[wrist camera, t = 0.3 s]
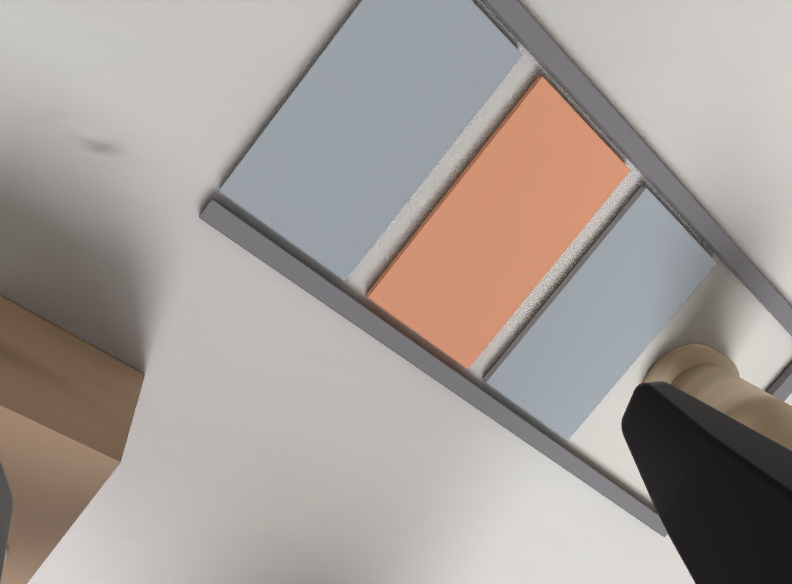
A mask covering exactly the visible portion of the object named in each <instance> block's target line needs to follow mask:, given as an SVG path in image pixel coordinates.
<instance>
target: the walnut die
mask: <svg viewBox="0 0 792 584" xmlns="http://www.w3.org/2000/svg"><path fill="white" fill-rule="evenodd" d="M144 376H145V374H143V373H141V372H139V371H138V370H136V369H134V368H132V367H130V366H128V365H127V364H125V363H123V362H121V361H119V360H118V359H116V358H114V357H112V356H110V355H108V354H107V353H105V352H103V351H101V350H99V349H97V348H96V347H94V346H92V345H90V344H88V343H86V342H85V341H83V340H81V339H79V338H77V337H75V336H74V335H72V334H70V333H68V332H66V331H64V330H63V329H61V328H59V327H57V326H55V325H53V324H52V323H50V322H48V321H46V320H44V319H42V318H41V317H39V316H37V315H35V314H33V313H31V312H30V311H28V310H26V309H24V308H22V307H20V306H19V305H17V304H15V303H13V302H11V301H10V300H8V299H6V298H4V297H2V296H0V461H1V463H2V466H3V469H4V472H5V475H6V477H7V480H8V483H9V486H10V488H11V491H12V496H13V511H12V518H11V524H10V530H9V536H8V542H7V548H6V554H5V560H4V566H3V572H2V577H1V583H0V584H27V583H28V581H29V580H30V579H31V578H32V576H33V575H34V574H35V572H36V571H37V570H38V568H39V567H40V566H41V565H42V563H43V562H44V561H45V559H46V558H47V557H48V556H49V554H50V553H51V552H52V550H53V549H54V548H55V546H56V545H57V544H58V543H59V541H60V540H61V539H62V537H63V536H64V535H65V533H66V532H67V531H68V530H69V528H70V527H71V526H72V524H73V523H74V522H75V520H76V519H77V518H78V517H79V515H80V514H81V513H82V511H83V510H84V509H85V508H86V506H87V505H88V504H89V502H90V501H91V500H92V498H93V497H94V496H95V495H96V493H97V492H98V491H99V489H100V488H101V487H102V485H103V484H104V483H105V482H106V480H107V479H108V478H109V476H110V475H111V474H112V472H113V471H114V470H115V469H116V467H117V466H118V465H119V463H120V462H121V458H122V455H123V451H124V448H125V444H126V441H127V437H128V433H129V430H130V426H131V423H132V419H133V415H134V412H135V408H136V405H137V401H138V397H139V394H140V390H141V387H142V383H143V379H144Z"/></svg>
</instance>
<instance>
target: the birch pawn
mask: <svg viewBox="0 0 792 584" xmlns="http://www.w3.org/2000/svg"><path fill="white" fill-rule="evenodd" d="M655 381H664V382H667V383H669V384H671V385H673V386H675V387H677V388H678V389H680V390H682V391H684V392H686V393H688V394H689V395H691V396H693V397H695V398H697V399H698V400H700V401H702V402H704V403H706V404H708V405H709V406H711V407H713V408H715V409H717V410H719V411H720V412H722V413H724V414H726V415H728V416H730V417H731V418H733V419H735V420H737V421H739V422H741V423H742V424H744V425H746V426H748V427H750V428H751V429H753V430H755V431H757V432H759V433H761V434H762V435H764V436H766V437H768V438H770V439H772V440H773V441H775V442H777V443H779V444H781V445H783V446H784V447H786V448H788V449H790V450H792V406H790V405H789V404H787V403H785V402H783V401H781V400H780V399H778V398H776V397H774V396H772V395H770V394H769V393H767V392H765V391H763V390H761V389H760V388H758V387H756V386H754V385H752V384H751V383H749V382H747V381H745V380H743V379H741V378H740V377H739V372H738V370H737V367H736V366H735V364H734V363H733V361H732V360H731V359H730V358H728V357H727V356H725V355H723V354H721V353H720V352H718V351H716V350H714V349H712V348H710V347H708V346H705V345H702V344H687V345H683V346H680V347H677V348H675V349H673V350H671V351H669V352H668V353H666V354H665V355H663V356H662V357H661V358H660V359H659V360H658V361H657V362H656V363H655V364H654V365H653V366H652V367H651V369H650V370H649V371H648V373H647V375H646V376H645V378H644V380H643V382H642V383H645V382H655Z"/></svg>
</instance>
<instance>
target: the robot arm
mask: <svg viewBox="0 0 792 584" xmlns="http://www.w3.org/2000/svg"><path fill="white" fill-rule="evenodd" d="M621 425H622V432H623V435H624V438H625V440H626V443H627V445H628V447H629V449H630V452H631V454H632V456H633V459H634V461H635V463H636V465H637V468H638V470H639V472H640V475H641V477H642V479H643V481H644V484H645V486H646V488H647V491H648V493H649V495H650V497H651V500H652V502H653V504H654V507H655V509H656V511H657V513H658V515H659V517H660V519H661V522H662V523H663V525H664V527H665V529H666V531H667V533H668V535H669V537H670V539H671V540H672V542H673V544H674V546H675V548H676V549H677V551H678V553H679V555H680V557H681V558H682V560H683V562H684V564H685V566H686V567H687V569H688V571H689V573H690V575H691V576H692V578H693V580H694V582H695V584H792V450H790V449H788V448H786V447H784V446H783V445H781V444H779V443H777V442H775V441H773V440H772V439H770V438H768V437H766V436H764V435H762V434H761V433H759V432H757V431H755V430H753V429H751V428H750V427H748V426H746V425H744V424H742V423H741V422H739V421H737V420H735V419H733V418H731V417H730V416H728V415H726V414H724V413H722V412H720V411H719V410H717V409H715V408H713V407H711V406H709V405H708V404H706V403H704V402H702V401H700V400H698V399H697V398H695V397H693V396H691V395H689V394H688V393H686V392H684V391H682V390H680V389H678V388H677V387H675V386H673V385H671V384H669V383H667V382H664V381H655V382H645V383H641V384H639V385H638V386H637V387H636V388H635V390H634V392H633V395H632V397H631V399H630V402H629V404H628V406H627V408H626V411H625V413H624V415H623V418H622V423H621ZM12 511H13V496H12V491H11V488H10V486H9V483H8V480H7V477H6V475H5V472H4V469H3V466H2V463H1V461H0V583H1V577H2V572H3V566H4V560H5V554H6V548H7V542H8V536H9V530H10V524H11V518H12Z"/></svg>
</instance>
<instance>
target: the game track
mask: <svg viewBox="0 0 792 584" xmlns="http://www.w3.org/2000/svg"><path fill="white" fill-rule="evenodd" d="M481 1H482V2H483V3H484V4H485V5H486V6H487V7H488V8H489V9H490V10H491V11H492V12H493V14H494V15H495V16H496V17H497V18H498V19H499V20H500V21H501V22H502V23H503V24H504V25H505V27H506V28H507V29H508V30H509V31H510V32H511V33H512V34H513V35H514V36H515V37H516V38H517V39H518V41H519V42H520V43H521V44H522V45H523V46H524V47H525V48H526V49H527V50H528V51H529V52H530V54H531V55H532V56H533V57H534V58H535V59H536V60H537V61H538V62H539V63H540V64H541V65H542V67H543V68H544V69H545V70H546V71H547V72H548V73H549V74H550V75H551V76H552V77H553V78H554V79H555V81H556V82H557V83H558V84H559V85H560V86H561V87H562V88H563V89H564V90H565V91H566V92H567V94H568V95H569V96H570V97H571V98H572V99H573V100H574V101H575V102H576V103H577V104H578V105H579V107H580V108H581V109H582V110H583V111H584V112H585V113H586V114H587V115H588V116H589V117H590V118H591V119H592V121H593V122H594V123H595V124H596V125H597V126H598V127H599V128H600V129H601V130H602V131H603V132H604V134H605V135H606V136H607V137H608V138H609V139H610V140H611V141H612V142H613V143H614V144H615V145H616V147H617V148H618V149H619V150H620V151H621V152H622V153H623V154H624V155H625V156H626V157H627V158H628V160H629V161H630V162H631V163H632V164H633V165H634V166H635V167H636V168H637V169H638V170H639V171H640V172H641V174H642V175H643V176H644V177H645V178H646V179H647V180H648V181H649V182H650V183H651V184H652V185H653V187H654V188H655V189H656V190H657V191H658V192H659V193H660V194H661V195H662V196H663V197H664V198H665V200H666V201H667V202H668V203H669V204H670V205H671V206H672V207H673V208H674V209H675V210H676V211H677V212H678V214H679V215H680V216H681V217H682V218H683V219H684V220H685V221H686V222H687V223H688V224H689V225H690V227H691V228H692V229H693V230H694V231H695V232H696V233H697V234H698V235H699V236H700V237H701V238H702V240H703V241H704V242H705V243H706V244H707V245H708V246H709V247H710V248H711V249H712V250H713V251H714V252H715V254H716V255H717V256H718V257H719V258H720V259H721V260H722V261H723V262H724V263H725V264H726V265H727V267H728V268H729V269H730V270H731V271H732V272H733V273H734V274H735V275H736V276H737V277H738V278H739V280H740V281H741V282H742V283H743V284H744V285H745V286H746V287H747V288H748V289H749V290H750V291H751V292H752V294H753V295H754V296H755V297H756V298H757V299H758V300H759V301H760V302H761V303H762V304H763V305H764V307H765V308H766V309H767V310H768V311H769V312H770V313H771V314H772V315H773V316H774V317H775V318H776V320H777V321H778V322H779V323H780V324H781V325H782V326H783V327H784V328H785V329H786V330H787V331H788V332H789V334H790V335H791V336H792V308H791V306H790V305H789V304H788V303H787V302H786V301H785V300H784V299H783V297H782V296H781V295H780V294H779V293H778V292H777V291H776V290H775V288H774V287H773V286H772V285H771V284H770V283H769V282H768V281H767V280H766V278H765V277H764V276H763V275H762V274H761V273H760V272H759V271H758V269H757V268H756V267H755V266H754V265H753V264H752V263H751V262H750V261H749V259H748V258H747V257H746V256H745V255H744V254H743V253H742V252H741V250H740V249H739V248H738V247H737V246H736V245H735V244H734V243H733V241H732V240H731V239H730V238H729V237H728V236H727V235H726V234H725V233H724V231H723V230H722V229H721V228H720V227H719V226H718V225H717V224H716V222H715V221H714V220H713V219H712V218H711V217H710V216H709V215H708V213H707V212H706V211H705V210H704V209H703V208H702V207H701V206H700V205H699V203H698V202H697V201H696V200H695V199H694V198H693V197H692V196H691V194H690V193H689V192H688V191H687V190H686V189H685V188H684V187H683V185H682V184H681V183H680V182H679V181H678V180H677V179H676V178H675V177H674V175H673V174H672V173H671V172H670V171H669V170H668V169H667V168H666V166H665V165H664V164H663V163H662V162H661V161H660V160H659V159H658V157H657V156H656V155H655V154H654V153H653V152H652V151H651V150H650V149H649V147H648V146H647V145H646V144H645V143H644V142H643V141H642V140H641V138H640V137H639V136H638V135H637V134H636V133H635V132H634V131H633V130H632V128H631V127H630V126H629V125H628V124H627V123H626V122H625V121H624V119H623V118H622V117H621V116H620V115H619V114H618V113H617V112H616V110H615V109H614V108H613V107H612V106H611V105H610V104H609V103H608V102H607V100H606V99H605V98H604V97H603V96H602V95H601V94H600V93H599V91H598V90H597V89H596V88H595V87H594V86H593V85H592V84H591V82H590V81H589V80H588V79H587V78H586V77H585V76H584V75H583V74H582V72H581V71H580V70H579V69H578V68H577V67H576V66H575V65H574V63H573V62H572V61H571V60H570V59H569V58H568V57H567V56H566V54H565V53H564V52H563V51H562V50H561V49H560V48H559V47H558V46H557V44H556V43H555V42H554V41H553V40H552V39H551V38H550V37H549V35H548V34H547V33H546V32H545V31H544V30H543V29H542V28H541V26H540V25H539V24H538V23H537V22H536V21H535V20H534V19H533V18H532V16H531V15H530V14H529V13H528V12H527V11H526V10H525V9H524V7H523V6H522V5H521V4H520V3H519V2H518V1H517V0H481ZM521 56H522V54H521V53H520V52H519V50H518V49H517V48H516V47H515V46H514V45H513V44H512V43H511V42H510V41H509V40H508V39H507V38H506V37H505V35H504V34H503V33H502V32H501V31H500V30H499V29H498V28H497V27H496V26H495V25H494V24H493V23H492V22H491V20H490V19H489V18H488V17H487V16H486V15H485V14H484V13H483V12H482V11H481V10H480V9H479V8H478V7H477V5H476V4H475V3H474V2H473V1H472V0H361V1H360V3H359V4H358V5H357V7H356V8H355V9H354V11H353V12H352V13H351V15H350V16H349V17H348V19H347V20H346V21H345V23H344V24H343V25H342V27H341V28H340V29H339V31H338V32H337V33H336V35H335V36H334V37H333V39H332V40H331V41H330V43H329V44H328V45H327V47H326V48H325V49H324V50H323V52H322V53H321V54H320V56H319V57H318V58H317V60H316V61H315V62H314V64H313V65H312V66H311V68H310V69H309V70H308V72H307V73H306V74H305V76H304V77H303V78H302V80H301V81H300V82H299V84H298V85H297V86H296V88H295V89H294V90H293V92H292V93H291V94H290V96H289V97H288V98H287V100H286V101H285V102H284V104H283V105H282V106H281V108H280V109H279V110H278V112H277V113H276V114H275V116H274V117H273V118H272V120H271V121H270V122H269V124H268V125H267V126H266V128H265V129H264V130H263V132H262V133H261V134H260V136H259V137H258V138H257V140H256V141H255V142H254V144H253V145H252V146H251V148H250V149H249V150H248V152H247V153H246V154H245V156H244V157H243V158H242V160H241V161H240V162H239V164H238V165H237V166H236V167H235V169H234V170H233V171H232V173H231V174H230V175H229V177H228V178H227V179H226V181H225V182H224V183H223V185H222V186H221V187H220V189H219V191H220V192H221V193H222V194H224V195H225V196H227V197H228V198H229V199H231V200H232V201H234V202H235V203H236V204H238V205H239V206H241V207H242V208H243V209H245V210H246V211H248V212H249V213H250V214H252V215H253V216H255V217H256V218H257V219H259V220H260V221H261V222H263V223H264V224H266V225H267V226H268V227H270V228H271V229H273V230H274V231H275V232H277V233H278V234H280V235H281V236H282V237H284V238H285V239H287V240H288V241H289V242H291V243H292V244H294V245H295V246H296V247H298V248H299V249H300V250H302V251H303V252H305V253H306V254H307V255H309V256H310V257H312V258H313V259H314V260H316V261H317V262H319V263H320V264H321V265H323V266H324V267H326V268H327V269H328V270H330V271H331V272H333V273H334V274H335V275H337V276H338V277H340V278H341V279H342V280H344V281H345V280H346V279H347V278H348V276H349V275H350V274H351V273H352V271H353V270H354V269H355V268H356V266H357V265H358V264H359V262H360V261H361V260H362V259H363V257H364V256H365V255H366V254H367V252H368V251H369V250H370V248H371V247H372V246H373V245H374V243H375V242H376V241H377V239H378V238H379V237H380V236H381V234H382V233H383V232H384V231H385V229H386V228H387V227H388V225H389V224H390V223H391V222H392V220H393V219H394V218H395V217H396V215H397V214H398V213H399V211H400V210H401V209H402V208H403V206H404V205H405V204H406V203H407V201H408V200H409V199H410V197H411V196H412V195H413V194H414V192H415V191H416V190H417V189H418V187H419V186H420V185H421V183H422V182H423V181H424V180H425V178H426V177H427V176H428V175H429V173H430V172H431V171H432V169H433V168H434V167H435V166H436V164H437V163H438V162H439V161H440V159H441V158H442V157H443V155H444V154H445V153H446V152H447V150H448V149H449V148H450V147H451V145H452V144H453V143H454V141H455V140H456V139H457V138H458V136H459V135H460V134H461V133H462V131H463V130H464V129H465V127H466V126H467V125H468V124H469V122H470V121H471V120H472V119H473V117H474V116H475V115H476V113H477V112H478V111H479V110H480V108H481V107H482V106H483V104H484V103H485V102H486V101H487V99H488V98H489V97H490V96H491V94H492V93H493V92H494V90H495V89H496V88H497V87H498V85H499V84H500V83H501V82H502V80H503V79H504V78H505V76H506V75H507V74H508V73H509V71H510V70H511V69H512V68H513V66H514V65H515V64H516V62H517V61H518V60H519V59H520V57H521ZM629 172H630V169H629V168H628V167H627V166H626V165H625V164H624V163H623V162H622V161H621V160H620V159H619V158H618V157H617V155H616V154H615V153H614V152H613V151H612V150H611V149H610V148H609V147H608V146H607V145H606V144H605V143H604V142H603V140H602V139H601V138H600V137H599V136H598V135H597V134H596V133H595V132H594V131H593V130H592V129H591V128H590V127H589V125H588V124H587V123H586V122H585V121H584V120H583V119H582V118H581V117H580V116H579V115H578V114H577V113H576V112H575V110H574V109H573V108H572V107H571V106H570V105H569V104H568V103H567V102H566V101H565V100H564V99H563V98H562V97H561V95H560V94H559V93H558V92H557V91H556V90H555V89H554V88H553V87H552V86H551V85H550V84H549V83H548V82H547V80H546V79H545V78H544V77H537V79H536V80H535V81H534V82H533V84H532V85H531V86H530V87H529V89H528V90H527V91H526V92H525V94H524V95H523V96H522V98H521V99H520V100H519V101H518V103H517V104H516V105H515V106H514V108H513V109H512V110H511V111H510V113H509V114H508V115H507V117H506V118H505V119H504V120H503V122H502V123H501V124H500V125H499V127H498V128H497V129H496V130H495V132H494V133H493V134H492V135H491V137H490V138H489V139H488V141H487V142H486V143H485V144H484V146H483V147H482V148H481V149H480V151H479V152H478V153H477V154H476V156H475V157H474V158H473V160H472V161H471V162H470V163H469V165H468V166H467V167H466V168H465V170H464V171H463V172H462V173H461V175H460V176H459V177H458V178H457V180H456V181H455V182H454V184H453V185H452V186H451V187H450V189H449V190H448V191H447V192H446V194H445V195H444V196H443V197H442V199H441V200H440V201H439V203H438V204H437V205H436V206H435V208H434V209H433V210H432V211H431V213H430V214H429V215H428V216H427V218H426V219H425V220H424V221H423V223H422V224H421V225H420V227H419V228H418V229H417V230H416V232H415V233H414V234H413V235H412V237H411V238H410V239H409V240H408V242H407V243H406V244H405V246H404V247H403V248H402V249H401V251H400V252H399V253H398V254H397V256H396V257H395V258H394V259H393V261H392V262H391V263H390V265H389V266H388V267H387V268H386V270H385V271H384V272H383V273H382V275H381V276H380V277H379V278H378V280H377V281H376V282H375V283H374V285H373V286H372V287H371V289H370V290H369V291H368V292H367V294H366V296H367V297H368V298H369V299H370V300H372V301H373V302H374V303H376V304H377V305H379V306H380V307H381V308H383V309H384V310H385V311H387V312H388V313H390V314H391V315H392V316H394V317H395V318H397V319H398V320H399V321H401V322H402V323H404V324H405V325H406V326H408V327H409V328H411V329H412V330H413V331H415V332H416V333H418V334H419V335H420V336H422V337H423V338H424V339H426V340H427V341H429V342H430V343H431V344H433V345H434V346H436V347H437V348H438V349H440V350H441V351H443V352H444V353H445V354H447V355H448V356H450V357H451V358H452V359H454V360H455V361H457V362H458V363H459V364H461V365H462V366H463V367H465V368H466V369H468V368H469V367H470V366H471V365H472V363H473V362H474V361H475V360H476V359H477V357H478V356H479V355H480V354H481V352H482V351H483V350H484V349H485V348H486V346H487V345H488V344H489V343H490V341H491V340H492V339H493V338H494V337H495V335H496V334H497V333H498V332H499V330H500V329H501V328H502V327H503V326H504V324H505V323H506V322H507V321H508V319H509V318H510V317H511V316H512V315H513V313H514V312H515V311H516V310H517V308H518V307H519V306H520V305H521V304H522V302H523V301H524V300H525V299H526V297H527V296H528V295H529V294H530V293H531V291H532V290H533V289H534V288H535V286H536V285H537V284H538V283H539V282H540V280H541V279H542V278H543V277H544V275H545V274H546V273H547V272H548V271H549V269H550V268H551V267H552V266H553V264H554V263H555V262H556V261H557V260H558V258H559V257H560V256H561V255H562V253H563V252H564V251H565V250H566V249H567V247H568V246H569V245H570V244H571V242H572V241H573V240H574V239H575V238H576V236H577V235H578V234H579V233H580V231H581V230H582V229H583V228H584V227H585V225H586V224H587V223H588V222H589V220H590V219H591V218H592V217H593V216H594V214H595V213H596V212H597V211H598V209H599V208H600V207H601V206H602V205H603V203H604V202H605V201H606V200H607V198H608V197H609V196H610V195H611V194H612V192H613V191H614V190H615V189H616V187H617V186H618V185H619V184H620V183H621V181H622V180H623V179H624V178H625V176H626V175H627V174H628V173H629ZM199 218H200V219H202V220H203V221H205V222H206V223H208V224H209V225H210V226H212V227H213V228H215V229H216V230H218V231H219V232H221V233H222V234H224V235H225V236H226V237H228V238H229V239H231V240H232V241H234V242H235V243H237V244H238V245H240V246H241V247H242V248H244V249H245V250H247V251H248V252H250V253H251V254H253V255H254V256H256V257H257V258H259V259H260V260H261V261H263V262H264V263H266V264H267V265H269V266H270V267H272V268H273V269H275V270H276V271H277V272H279V273H280V274H282V275H283V276H285V277H286V278H288V279H289V280H291V281H292V282H293V283H295V284H296V285H298V286H299V287H301V288H302V289H304V290H305V291H307V292H308V293H309V294H311V295H312V296H314V297H315V298H317V299H318V300H320V301H321V302H323V303H324V304H325V305H327V306H328V307H330V308H331V309H333V310H334V311H336V312H337V313H339V314H340V315H341V316H343V317H344V318H346V319H347V320H349V321H350V322H352V323H353V324H355V325H356V326H357V327H359V328H360V329H362V330H363V331H365V332H366V333H368V334H369V335H371V336H372V337H374V338H375V339H376V340H378V341H379V342H381V343H382V344H384V345H385V346H387V347H388V348H390V349H391V350H392V351H394V352H395V353H397V354H398V355H400V356H401V357H403V358H404V359H406V360H407V361H408V362H410V363H411V364H413V365H414V366H416V367H417V368H419V369H420V370H422V371H423V372H424V373H426V374H427V375H429V376H430V377H432V378H433V379H435V380H436V381H438V382H439V383H440V384H442V385H443V386H445V387H446V388H448V389H449V390H451V391H452V392H454V393H455V394H456V395H458V396H459V397H461V398H462V399H464V400H465V401H467V402H468V403H470V404H471V405H473V406H474V407H475V408H477V409H478V410H480V411H481V412H483V413H484V414H486V415H487V416H489V417H490V418H491V419H493V420H494V421H496V422H497V423H499V424H500V425H502V426H503V427H505V428H506V429H507V430H509V431H510V432H512V433H513V434H515V435H516V436H518V437H519V438H521V439H522V440H523V441H525V442H526V443H528V444H529V445H531V446H532V447H534V448H535V449H537V450H538V451H539V452H541V453H542V454H544V455H545V456H547V457H548V458H550V459H551V460H553V461H554V462H555V463H557V464H558V465H560V466H561V467H563V468H564V469H566V470H567V471H569V472H570V473H571V474H573V475H574V476H576V477H577V478H579V479H580V480H582V481H583V482H585V483H586V484H588V485H589V486H590V487H592V488H593V489H595V490H596V491H598V492H599V493H601V494H602V495H604V496H605V497H606V498H608V499H609V500H611V501H612V502H614V503H615V504H617V505H618V506H620V507H621V508H622V509H624V510H625V511H627V512H628V513H630V514H631V515H633V516H634V517H636V518H637V519H638V520H640V521H641V522H643V523H644V524H646V525H647V526H649V527H650V528H652V529H653V530H654V531H656V532H657V533H659V534H660V535H662V536H663V537H665V536H666V535H667V534H668V533H667V531H666V529H665V527H664V525H663V523H662V522H661V519H660V517H659V515H658V514H657V513H656V512H655V511H653V510H652V509H650V508H649V507H648V506H646V505H645V504H643V503H642V502H640V501H639V500H638V499H636V498H635V497H633V496H632V495H631V494H629V493H628V492H626V491H625V490H624V489H622V488H621V487H619V486H618V485H617V484H615V483H614V482H612V481H611V480H609V479H608V478H607V477H605V476H604V475H602V474H601V473H600V472H598V471H597V470H595V469H594V468H593V467H591V466H590V465H588V464H587V463H585V462H584V461H583V460H581V459H580V458H578V457H577V456H576V455H574V454H573V453H571V452H570V451H569V450H567V449H566V448H564V447H563V446H561V445H560V444H559V443H557V442H556V441H554V440H553V439H552V438H550V437H549V436H547V435H546V434H545V433H543V432H542V431H540V430H539V429H538V428H536V427H535V426H533V425H532V424H530V423H529V422H528V421H526V420H525V419H523V418H522V417H521V416H519V415H518V414H516V413H515V412H514V411H512V410H511V409H509V408H508V407H506V406H505V405H504V404H502V403H501V402H499V401H498V400H497V399H495V398H494V397H492V396H491V395H490V394H488V393H487V392H485V391H484V390H482V389H481V388H480V387H478V386H477V385H475V384H474V383H473V382H471V381H470V380H468V379H467V378H466V377H464V376H463V375H461V374H460V373H459V372H457V371H456V370H454V369H453V368H451V367H450V366H449V365H447V364H446V363H444V362H443V361H442V360H440V359H439V358H437V357H436V356H435V355H433V354H432V353H430V352H429V351H427V350H426V349H425V348H423V347H422V346H420V345H419V344H418V343H416V342H415V341H413V340H412V339H411V338H409V337H408V336H406V335H405V334H403V333H402V332H401V331H399V330H398V329H396V328H395V327H394V326H392V325H391V324H389V323H388V322H387V321H385V320H384V319H382V318H381V317H380V316H378V315H377V314H375V313H374V312H372V311H371V310H370V309H368V308H367V307H365V306H364V305H363V304H361V303H360V302H358V301H357V300H356V299H354V298H353V297H351V296H350V295H348V294H347V293H346V292H344V291H343V290H341V289H340V288H339V287H337V286H336V285H334V284H333V283H332V282H330V281H329V280H327V279H326V278H324V277H323V276H322V275H320V274H319V273H317V272H316V271H315V270H313V269H312V268H310V267H309V266H308V265H306V264H305V263H303V262H302V261H301V260H299V259H298V258H296V257H295V256H293V255H292V254H291V253H289V252H288V251H286V250H285V249H284V248H282V247H281V246H279V245H278V244H277V243H275V242H274V241H272V240H271V239H269V238H268V237H267V236H265V235H264V234H262V233H261V232H260V231H258V230H257V229H255V228H254V227H253V226H251V225H250V224H248V223H247V222H245V221H244V220H243V219H241V218H240V217H238V216H237V215H236V214H234V213H233V212H231V211H230V210H229V209H227V208H226V207H224V206H223V205H222V204H220V203H219V202H217V201H216V200H214V199H213V198H212V199H211V201H210V202H209V203H208V205H207V206H206V207H205V209H204V210H203V211H202V213H201V214H200V215H199ZM716 264H717V263H716V262H715V260H714V259H713V258H712V257H711V256H710V255H709V254H708V253H707V252H706V251H705V250H704V249H703V248H702V247H701V245H700V244H699V243H698V242H697V241H696V240H695V239H694V238H693V237H692V236H691V235H690V234H689V233H688V232H687V230H686V229H685V228H684V227H683V226H682V225H681V224H680V223H679V222H678V221H677V220H676V219H675V218H674V217H673V215H672V214H671V213H670V212H669V211H668V210H667V209H666V208H665V207H664V206H663V205H662V204H661V203H660V202H659V200H658V199H657V198H656V197H655V196H654V195H653V194H652V193H651V192H650V191H649V190H648V189H647V188H646V187H640V188H639V189H638V190H637V192H636V193H635V194H634V195H633V196H632V198H631V199H630V200H629V201H628V203H627V204H626V205H625V206H624V207H623V209H622V210H621V211H620V212H619V213H618V215H617V216H616V217H615V218H614V220H613V221H612V222H611V223H610V224H609V226H608V227H607V228H606V229H605V231H604V232H603V233H602V234H601V235H600V237H599V238H598V239H597V240H596V241H595V243H594V244H593V245H592V246H591V248H590V249H589V250H588V251H587V252H586V254H585V255H584V256H583V257H582V259H581V260H580V261H579V262H578V263H577V265H576V266H575V267H574V268H573V269H572V271H571V272H570V273H569V274H568V276H567V277H566V278H565V279H564V280H563V282H562V283H561V284H560V285H559V286H558V288H557V289H556V290H555V291H554V293H553V294H552V295H551V296H550V297H549V299H548V300H547V301H546V302H545V304H544V305H543V306H542V307H541V308H540V310H539V311H538V312H537V313H536V314H535V316H534V317H533V318H532V319H531V321H530V322H529V323H528V324H527V325H526V327H525V328H524V329H523V330H522V331H521V333H520V334H519V335H518V336H517V338H516V339H515V340H514V341H513V342H512V344H511V345H510V346H509V347H508V349H507V350H506V351H505V352H504V353H503V355H502V356H501V357H500V358H499V359H498V361H497V362H496V363H495V364H494V366H493V367H492V368H491V369H490V370H489V372H488V373H487V374H486V375H485V376H484V378H483V380H484V381H485V382H486V383H487V384H489V385H490V386H491V387H493V388H494V389H496V390H497V391H498V392H500V393H501V394H502V395H504V396H505V397H507V398H508V399H509V400H511V401H512V402H514V403H515V404H516V405H518V406H519V407H521V408H522V409H523V410H525V411H526V412H528V413H529V414H530V415H532V416H533V417H535V418H536V419H537V420H539V421H540V422H541V423H543V424H544V425H546V426H547V427H548V428H550V429H551V430H553V431H554V432H555V433H557V434H558V435H560V436H561V437H562V438H564V439H565V440H567V441H568V439H569V438H570V437H571V436H572V435H573V434H574V432H575V431H576V430H577V429H578V428H579V426H580V425H581V424H582V423H583V422H584V421H585V419H586V418H587V417H588V416H589V415H590V413H591V412H592V411H593V410H594V409H595V408H596V406H597V405H598V404H599V403H600V402H601V400H602V399H603V398H604V397H605V396H606V395H607V393H608V392H609V391H610V390H611V389H612V387H613V386H614V385H615V384H616V383H617V382H618V380H619V379H620V378H621V377H622V376H623V374H624V373H625V372H626V371H627V370H628V369H629V367H630V366H631V365H632V364H633V363H634V361H635V360H636V359H637V358H638V357H639V356H640V354H641V353H642V352H643V351H644V350H645V348H646V347H647V346H648V345H649V344H650V343H651V341H652V340H653V339H654V338H655V337H656V335H657V334H658V333H659V332H660V331H661V330H662V328H663V327H664V326H665V325H666V324H667V322H668V321H669V320H670V319H671V318H672V317H673V315H674V314H675V313H676V312H677V311H678V309H679V308H680V307H681V306H682V305H683V304H684V302H685V301H686V300H687V299H688V298H689V296H690V295H691V294H692V293H693V292H694V290H695V289H696V288H697V287H698V286H699V285H700V283H701V282H702V281H703V280H704V279H705V277H706V276H707V275H708V274H709V273H710V272H711V270H712V269H713V268H714V267H715V266H716ZM766 392H767V393H769V394H770V395H772V396H774V397H776V398H778V399H780V400H781V401H783V402H784V401H785V400H786V398H787V397H788V396H789V395H790V394H791V393H792V363H791V364H790V365H789V366H788V367H787V369H786V370H785V371H784V372H783V373H782V374H781V375H780V377H779V378H778V379H777V380H776V381H775V382H774V383H773V385H772V386H771V387H770V388H769V389H768V390H767V391H766Z"/></svg>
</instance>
